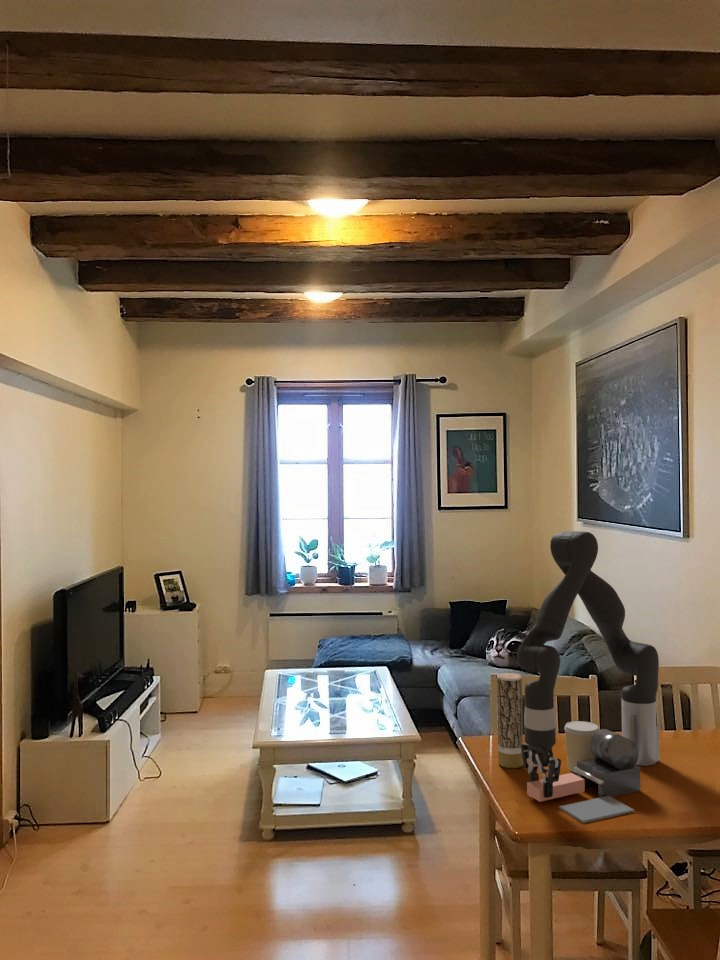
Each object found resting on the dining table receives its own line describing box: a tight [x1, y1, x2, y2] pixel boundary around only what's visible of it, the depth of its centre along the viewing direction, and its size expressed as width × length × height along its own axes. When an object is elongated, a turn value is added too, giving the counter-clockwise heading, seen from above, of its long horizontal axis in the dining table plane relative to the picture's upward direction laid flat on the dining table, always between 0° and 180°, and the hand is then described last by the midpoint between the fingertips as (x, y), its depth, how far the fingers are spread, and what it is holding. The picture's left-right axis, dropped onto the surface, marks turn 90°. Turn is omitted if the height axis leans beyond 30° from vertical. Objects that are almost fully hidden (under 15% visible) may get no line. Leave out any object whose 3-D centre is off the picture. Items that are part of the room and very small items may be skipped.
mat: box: [558, 796, 635, 824], centre depth 187 cm, size 15×9×1 cm, turn 112°
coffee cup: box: [564, 720, 600, 774], centre depth 214 cm, size 9×9×12 cm
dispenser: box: [574, 728, 641, 798], centre depth 201 cm, size 13×10×14 cm
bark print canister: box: [496, 672, 524, 769], centre depth 218 cm, size 7×7×25 cm
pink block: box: [526, 772, 586, 802], centre depth 195 cm, size 14×5×3 cm, turn 115°
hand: (541, 792), depth 193 cm, fingers closed on pink block, 5 cm apart
